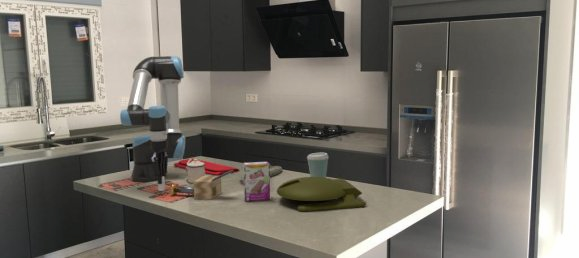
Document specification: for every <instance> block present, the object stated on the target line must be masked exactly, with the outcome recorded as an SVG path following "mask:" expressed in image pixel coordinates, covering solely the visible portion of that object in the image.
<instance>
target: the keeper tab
mask: <svg viewBox="0 0 579 258" xmlns="http://www.w3.org/2000/svg"><path fill="white" fill-rule="evenodd" d="M233 171H234V170H230V171H228V172H226V173H224V174H222V175H220V176H217V177H215V178H213V179H212V181H214V180H216V179H219V178H221V179H222V178H223V177H225V176H228V175H229V173H230V174H232V173H231V172H233Z"/></svg>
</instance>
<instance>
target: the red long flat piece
mask: <svg viewBox="0 0 579 258" xmlns="http://www.w3.org/2000/svg"><path fill="white" fill-rule="evenodd" d="M194 159H195V158H187V159H182V160H179V161H178V162H175V163H174V164H173V167H174V166H175V167H174V168H177V167H179V168H178V169H182V168H183V170H186V167H187V164H188V163H191V162H192V161H194ZM198 161H200V162H203V163H204V164H205V166H204V167H205V173H206V174H205V175H210V174H211V175H212V176H220V175H222V174H224V173H226V172H228V171H230V170H234V171H233V172H235V173H238V171H239V172H240V169H239V168H238V167H234V166H230V165H225V164H221V163H220V164H219V163H215V162H210V161H207V160H202V159H198ZM233 172H231V173H230V174H234V173H233Z"/></svg>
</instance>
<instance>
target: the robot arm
mask: <svg viewBox="0 0 579 258" xmlns="http://www.w3.org/2000/svg"><path fill="white" fill-rule="evenodd" d="M184 76H185V75H184V66H183V63H182V60H181V58H180V57H179V56H172V55H170V56H164V55H163V56H149V57H146V58H144V59H142V60H141V61H139V63H137V65H136V66H135V68H134V70H133V72H132V79H133V82H132V85H131V86H132V87H131V90H130V91H131V92H130V95H129V100H128V104H127V107H126V109H122V110H121V111H120V114H119V115H120V116H119V117H120V123H121V125H122V126H129V127H133V126H149V134H142V135H138V136H135V137H134V138H133V139H132V151H133V152H132V154H133V155H132V157H133V168H132V172H131V176H130V178H131V179H130V181H132V182H135V183H136V182H138V183H145V182H146V183H147V182H153V181H154V182H155V181H157V190H158V191H160V192H163V191H166V187H165V186H166V184H165V183H166V182H165V181H166V180H165V177H167V176H168V175H167V174H168V164H169V163H168V160H169V159H173V160H175V159H181V158H182V157H183V156H184V155H185V149H186V136H185V135H183V132H182V131H181V130H180V114H179V113H180V110H179V104H180V103H179V85H180V84H181V82H182V79H184ZM155 79H156V80H158V83H159V84H160V85H161V105H152V106H149V107H148V108H145V105H146V100H147V95H148V89H149V83H151V82H152V80H155Z"/></svg>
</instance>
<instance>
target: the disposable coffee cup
mask: <svg viewBox="0 0 579 258" xmlns="http://www.w3.org/2000/svg"><path fill="white" fill-rule="evenodd" d="M306 159H307V164H308V169H309V177H324V178H327V172H328V164H329V163H328V162H329V155H328V153H326V152H323V151H322V152H321V151H320V152H314V153H310V154H308V155H307V156H306Z"/></svg>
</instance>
